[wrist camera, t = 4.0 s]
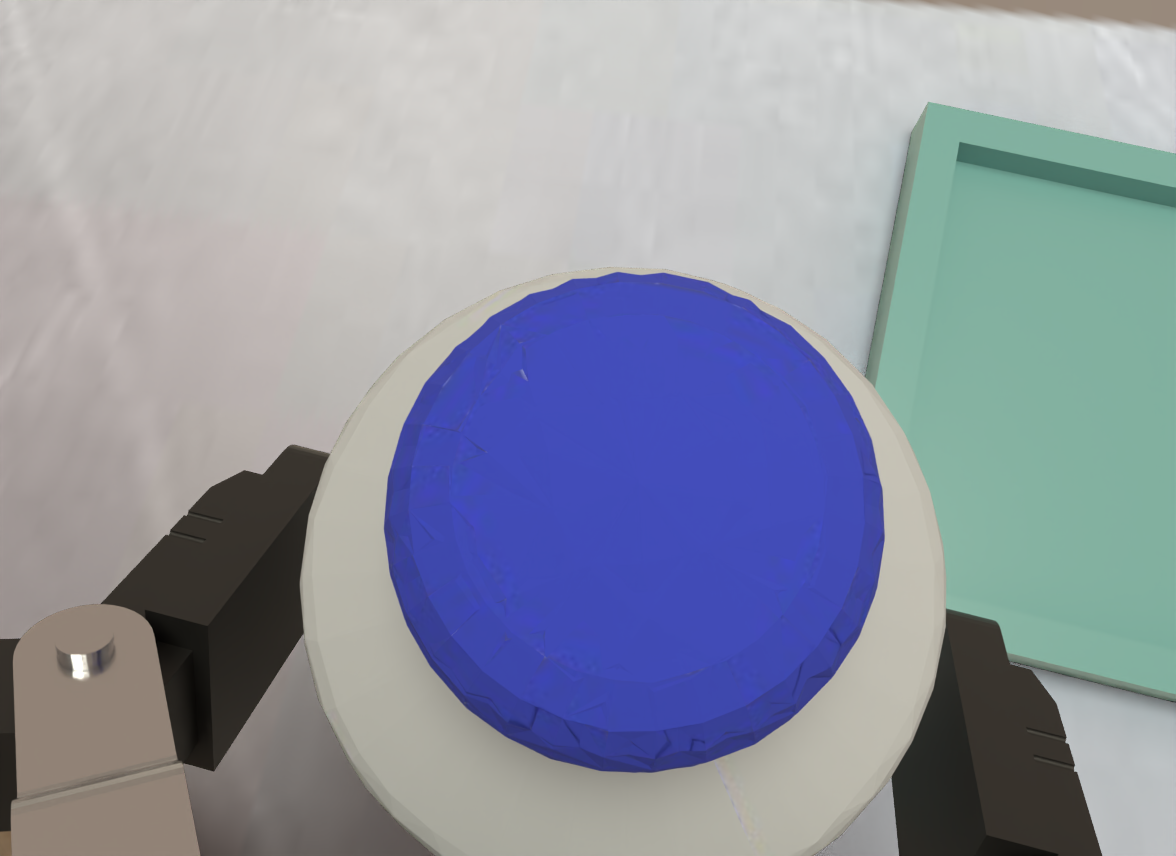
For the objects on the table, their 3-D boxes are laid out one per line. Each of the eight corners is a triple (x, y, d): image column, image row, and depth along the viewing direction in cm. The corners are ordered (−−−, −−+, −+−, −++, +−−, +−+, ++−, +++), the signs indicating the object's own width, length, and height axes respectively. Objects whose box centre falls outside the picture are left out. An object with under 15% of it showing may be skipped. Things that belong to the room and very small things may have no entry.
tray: (820, 614, 25) (833, 609, 24) (911, 131, 29) (928, 101, 27) (1391, 755, 24) (1442, 760, 23) (1416, 238, 28) (1461, 213, 26)
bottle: (526, 478, 26) (316, -120, 7) (774, 558, 26) (1315, 156, 6) (436, 731, 25) (-171, 893, 5) (697, 824, 24) (1101, 1394, 5)
